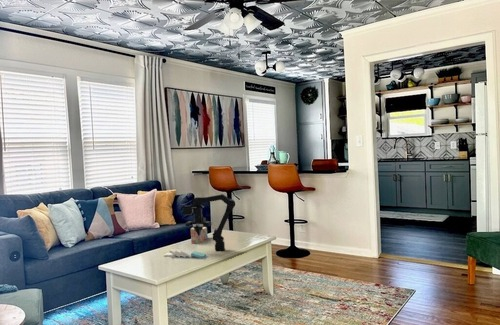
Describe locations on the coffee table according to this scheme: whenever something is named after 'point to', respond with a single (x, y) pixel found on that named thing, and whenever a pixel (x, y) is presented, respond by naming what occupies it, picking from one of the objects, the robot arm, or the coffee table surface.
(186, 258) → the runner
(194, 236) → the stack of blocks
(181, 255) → the domino
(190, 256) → the domino
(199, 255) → the domino
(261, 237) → the coffee table surface
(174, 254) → the domino
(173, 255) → the domino
